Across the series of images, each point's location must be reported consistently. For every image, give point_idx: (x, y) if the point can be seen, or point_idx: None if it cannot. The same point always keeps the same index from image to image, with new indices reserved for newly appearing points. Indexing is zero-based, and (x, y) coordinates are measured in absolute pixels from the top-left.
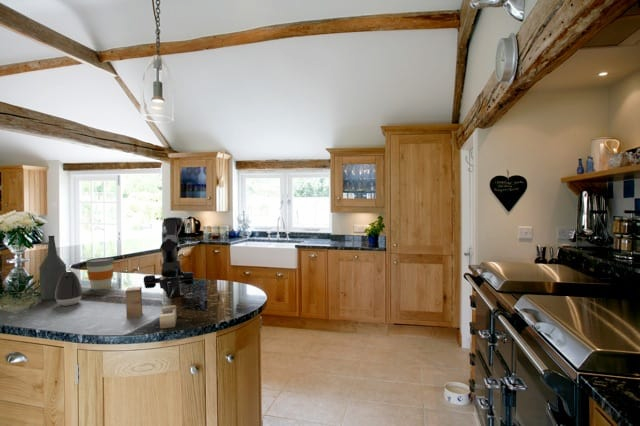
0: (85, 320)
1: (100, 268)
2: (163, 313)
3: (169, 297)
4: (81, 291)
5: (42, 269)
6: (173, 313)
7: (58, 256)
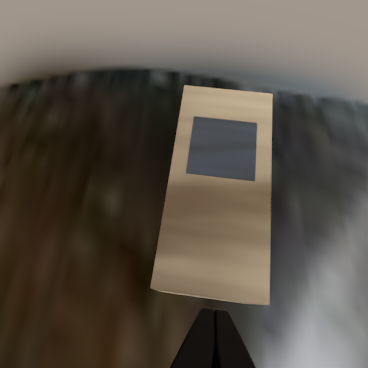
0: None
1: None
2: (250, 131)
3: (207, 308)
4: None
5: None
6: (187, 105)
7: None
